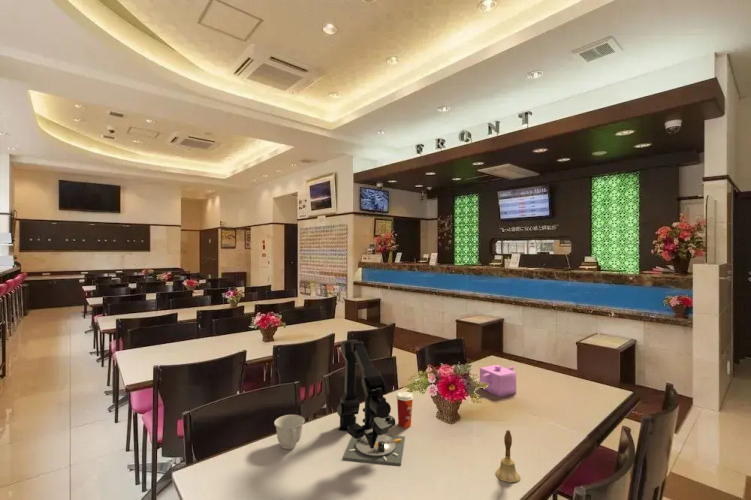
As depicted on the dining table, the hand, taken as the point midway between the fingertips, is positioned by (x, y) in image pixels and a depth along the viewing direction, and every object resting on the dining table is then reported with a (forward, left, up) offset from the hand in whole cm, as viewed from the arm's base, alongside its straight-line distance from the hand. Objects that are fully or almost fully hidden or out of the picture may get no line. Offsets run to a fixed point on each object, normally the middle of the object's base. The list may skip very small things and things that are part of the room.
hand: (371, 448), depth 143 cm
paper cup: (+10, +30, -5) cm, 32 cm away
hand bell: (+49, -2, -5) cm, 50 cm away
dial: (0, +8, -3) cm, 9 cm away
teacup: (-34, +3, -5) cm, 34 cm away
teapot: (+60, +82, -5) cm, 102 cm away
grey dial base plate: (0, +8, -4) cm, 9 cm away
